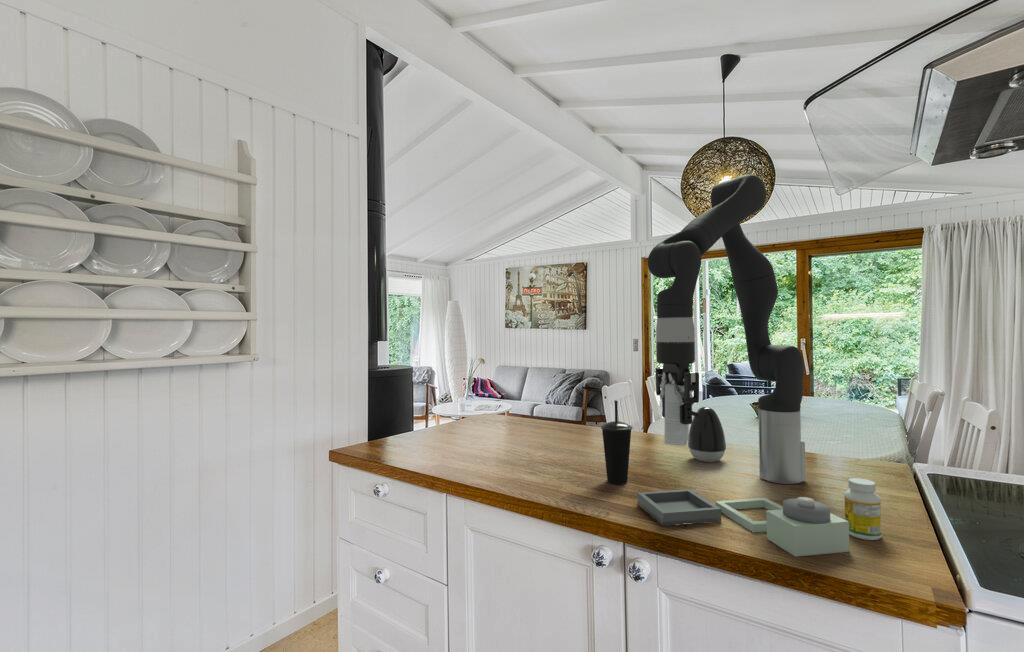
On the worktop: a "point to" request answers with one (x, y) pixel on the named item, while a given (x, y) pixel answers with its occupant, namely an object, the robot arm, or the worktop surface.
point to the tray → (678, 507)
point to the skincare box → (674, 418)
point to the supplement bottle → (863, 509)
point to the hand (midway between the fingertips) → (676, 420)
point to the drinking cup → (616, 449)
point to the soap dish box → (794, 524)
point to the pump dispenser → (706, 436)
